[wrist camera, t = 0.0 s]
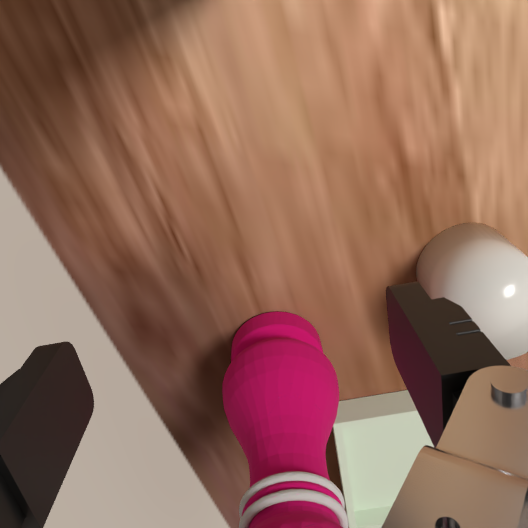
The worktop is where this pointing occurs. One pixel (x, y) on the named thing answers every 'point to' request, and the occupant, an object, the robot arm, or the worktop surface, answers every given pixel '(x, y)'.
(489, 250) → the grey rounded block
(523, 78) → the worktop surface
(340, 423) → the tray
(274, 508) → the pepper mill
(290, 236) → the worktop surface
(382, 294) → the worktop surface
